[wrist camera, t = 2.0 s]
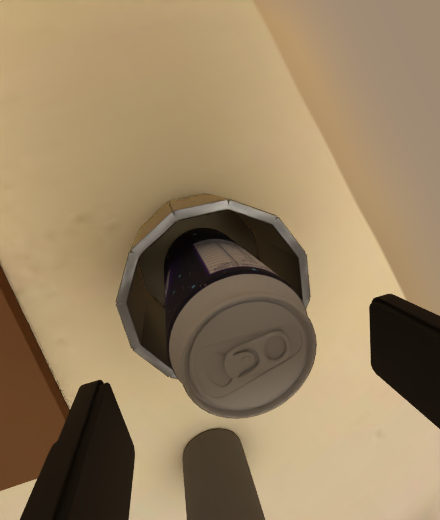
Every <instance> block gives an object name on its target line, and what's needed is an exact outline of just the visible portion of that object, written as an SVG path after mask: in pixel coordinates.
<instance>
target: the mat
mask: <svg viewBox="0 0 440 520" xmlns="http://www.w3.org/2000/svg"><path fill="white" fill-rule="evenodd" d="M69 412H70V411H69V409H68V407H67V405H66V403H65V401H64V398H63V396H62V394H61V392H60V390H59V388H58V386H57V384H56V382H55V380H54V378H53V375H52V373H51V371H50V369H49V367H48V365H47V363H46V361H45V359H44V357H43V355H42V352H41V350H40V348H39V346H38V344H37V342H36V340H35V338H34V336H33V334H32V332H31V329H30V327H29V325H28V323H27V321H26V319H25V317H24V315H23V313H22V311H21V309H20V306H19V304H18V302H17V300H16V298H15V296H14V294H13V292H12V290H11V288H10V286H9V283H8V281H7V279H6V277H5V275H4V273H3V271H2V269H1V267H0V491H1V490H4V489H7V488H10V487H13V486H16V485H19V484H22V483H25V482H28V481H31V480H34V479H37V478H38V476H39V474H40V472H41V469H42V467H43V465H44V462H45V460H46V458H47V455H48V453H49V451H50V449H51V447H52V445H53V444H54V443H55V442H56V441H58V438H59V436H60V433H61V431H62V428H63V426H64V424H65V421H66V419H67V416H68V414H69Z"/></svg>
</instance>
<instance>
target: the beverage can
mask: <svg viewBox="0 0 440 520" xmlns="http://www.w3.org/2000/svg"><path fill="white" fill-rule="evenodd" d="M164 279H165V310H166V342H167V355H168V360H169V363H170V366H171V368H172V370H173V372H174V374H175V375H176V377H177V378H178V379H179V380H180V382H181V383H182V384H183V387H184V389H185V391H186V392H187V394H188V396H189V397H190V398H191V399H192V401H193V402H194V403H195V404H196V405H198V406H199V407H200V408H201V409H203V410H205V411H207V412H208V413H211V414H213V415H216V416H220V417H225V418H236V419H238V418H248V417H253V416H257V415H260V414H263V413H266V412H268V411H270V410H273V409H275V408H276V407H278V406H280V405H281V404H283V403H284V402H286V401H287V400H288V399H289V398H290V397H292V396H293V395H294V394H295V393H296V392H297V391H298V390H299V388H300V387H301V386H302V384H303V383H304V382H305V380H306V379H307V377H308V375H309V373H310V371H311V369H312V366H313V364H314V360H315V355H316V346H317V344H316V335H315V331H314V328H313V325H312V323H311V321H310V319H309V318H308V316H307V312H306V308H305V306H304V303H303V301H302V299H301V297H300V296H299V294H298V293H297V292H296V290H295V289H294V288H293V287H292V286H291V285H290V284H288V283H287V282H286V281H285V280H283V279H282V278H281V277H279V276H278V275H277V274H276V273H274V272H273V271H272V270H270V269H269V268H268V267H267V266H265V265H264V264H263V263H261V262H260V261H259V260H258V259H256V258H255V257H254V256H253V255H251V254H250V253H249V252H247V251H246V250H245V249H244V248H242V247H241V246H240V245H238V244H237V243H236V242H235V241H233V240H232V239H231V238H229V237H228V236H227V235H226V234H224V233H222V232H220V231H218V230H215V229H210V228H199V229H194V230H190V231H188V232H186V233H184V234H182V235H181V236H180V237H178V238H177V239H176V240H175V241H174V242H173V243H172V245H171V246H170V248H169V250H168V252H167V254H166V257H165V262H164Z"/></svg>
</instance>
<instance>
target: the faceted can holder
mask: <svg viewBox="0 0 440 520" xmlns="http://www.w3.org/2000/svg"><path fill="white" fill-rule="evenodd" d="M224 210H230V211H233V212H236V213H237V214H238V215H239V216H240V217H241V218H242V220H243V221H244V222H245V223H246V225H247V226H248V227H249V228H250V229H251V231H252V232H253V233H254V234H255V239H256V245H257V252H258V258H259V261H260V262H261V263H263V264H264V265H265V266H267V267H268V268H269V269H270V270H272V271H273V272H274V273H276V274H277V275H278V276H279V277H281V278H282V279H283V280H285V281H286V282H287V283H288V284H290V285H291V286H292V287H293V288H294V289H295V290H296V292H297V293H298V294H299V296H300V297H301V299H302V301H303V303H304V306H305V308H307V305H308V303H309V301H310V299H309V298H310V286H309V275H308V265H307V255H306V254H305V251H304V250H303V248H302V247H301V246H300V244H299V243H298V242H297V240H296V239H295V238H294V237H293V235H292V234H291V233H290V231H289V230H288V229H287V227H286V226H285V225H284V223H283V222H282V221H281V220H280V218H279V217H277V216H276V215H274V214H271V213H268V212H265V211H262V210H260V209H257V208H254V207H251V206H248V205H245V204H243V203H240V202H237V201H234V200H231V199H227V198H223V197H218V196H213V195H209V194H201V195H196V196H192V197H187V198H182V199H177V200H173V201H169V202H167V203H166V204H165V205H164V206H163V207H162V208H161V209H160V210H159V211H158V212H157V213H155V214H154V215H153V216H152V217H151V218H150V219H149V220H148V221H147V222H146V223H145V224H144V225H143V226H142V227H141V228H140V230H139V232H138V234H137V236H136V239H135V241H134V243H133V245H132V247H131V249H130V251H129V254H128V258H127V262H126V265H125V269H124V273H123V276H122V280H121V284H120V288H119V291H118V295H117V299H116V302H117V303H116V306H117V309H118V312H119V314H120V317H121V320H122V323H123V326H124V329H125V332H126V334H127V337H128V340H129V343H130V346H131V348H133V351H135V352H136V353H137V354H138V355H140V356H141V357H142V358H144V359H145V360H146V361H148V362H149V363H150V364H152V365H153V366H154V367H156V368H157V369H158V370H160V371H161V372H162V373H163V374H165V375H166V376H167V377H169V376H170V378H175V379H178V378H177V377H176V375H175V374H174V372H173V370H172V368H171V366H170V363H169V360H168V355H167V342H166V310H165V307H163V306H162V305H161V304H160V303H159V302H158V301H157V300H155V299H154V298H153V297H152V296H151V295H150V294H149V293H147V289H146V286H145V283H144V280H143V276H142V273H141V270H140V266H139V263H138V262H139V259H140V255H141V254H142V253H144V252H145V251H146V250H147V249H148V248H149V247H150V246H151V245H152V244H153V243H154V242H155V241H156V240H158V239H159V238H160V237H161V236H162V235H163V234H164V233H165V232H166V231H167V230H168V229H169V228H171V227H172V226H173V225H174V224H175V223H176V222H177V221H179V220H184V219H188V218H193V217H197V216H202V215H206V214H211V213H215V212H220V211H224Z"/></svg>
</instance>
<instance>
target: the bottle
mask: <svg viewBox="0 0 440 520" xmlns="http://www.w3.org/2000/svg"><path fill="white" fill-rule="evenodd" d="M183 473H184V486H185V500H186V513H187V520H265V517H264V514H263V511H262V508H261V504H260V501H259V498H258V495H257V491H256V488H255V485H254V482H253V478H252V475H251V472H250V469H249V466H248V463H247V460H246V456H245V453H244V450H243V447H242V444H241V442H240V440H239V438H238V436H237V435H236V434H234V433H233V432H231V431H229V430H225V429H213V430H209V431H206V432H204V433H201V434H200V435H198V436H196V437H195V438H194V439H193V440H191V441H190V443H189V444H188V445H187V447H186V449H185V451H184V454H183Z"/></svg>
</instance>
